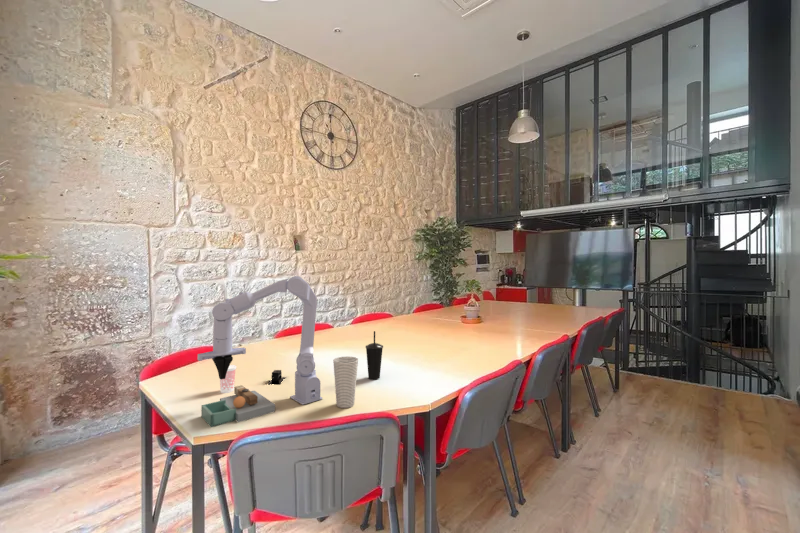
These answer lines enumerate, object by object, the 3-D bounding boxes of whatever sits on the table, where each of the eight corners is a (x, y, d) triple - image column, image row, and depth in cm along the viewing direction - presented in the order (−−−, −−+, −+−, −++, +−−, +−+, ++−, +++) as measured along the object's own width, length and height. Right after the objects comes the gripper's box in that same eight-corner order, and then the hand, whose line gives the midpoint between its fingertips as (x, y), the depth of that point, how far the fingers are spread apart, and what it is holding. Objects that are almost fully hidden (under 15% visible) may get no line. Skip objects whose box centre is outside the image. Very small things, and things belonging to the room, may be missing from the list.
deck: (274, 411, 111) (274, 404, 111) (237, 422, 103) (238, 414, 103) (254, 397, 124) (254, 390, 124) (219, 405, 116) (219, 398, 116)
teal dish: (235, 420, 105) (235, 408, 105) (210, 427, 100) (211, 415, 100) (225, 410, 112) (225, 399, 112) (201, 416, 107) (201, 405, 107)
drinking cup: (382, 380, 143) (382, 333, 143) (364, 380, 143) (364, 332, 143) (383, 375, 151) (383, 329, 151) (366, 375, 151) (366, 329, 151)
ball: (246, 407, 108) (247, 396, 108) (235, 410, 106) (235, 399, 106) (243, 404, 111) (243, 393, 111) (231, 407, 109) (231, 396, 109)
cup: (327, 404, 117) (328, 359, 118) (348, 398, 123) (348, 355, 124) (342, 412, 111) (342, 364, 112) (362, 405, 117) (363, 359, 117)
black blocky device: (280, 387, 136) (281, 375, 136) (262, 387, 136) (262, 376, 136) (289, 377, 149) (289, 366, 149) (271, 377, 148) (271, 367, 148)
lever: (257, 403, 111) (257, 394, 111) (249, 405, 109) (249, 396, 109) (241, 391, 121) (241, 383, 122) (234, 393, 120) (234, 385, 120)
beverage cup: (239, 389, 131) (240, 353, 132) (224, 394, 126) (224, 356, 126) (229, 387, 134) (230, 351, 135) (214, 391, 129) (215, 354, 129)
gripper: (241, 333, 123) (240, 371, 123) (195, 339, 113) (194, 380, 113) (248, 336, 118) (247, 376, 118) (201, 342, 108) (200, 385, 108)
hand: (222, 378), depth 115 cm, fingers closed
